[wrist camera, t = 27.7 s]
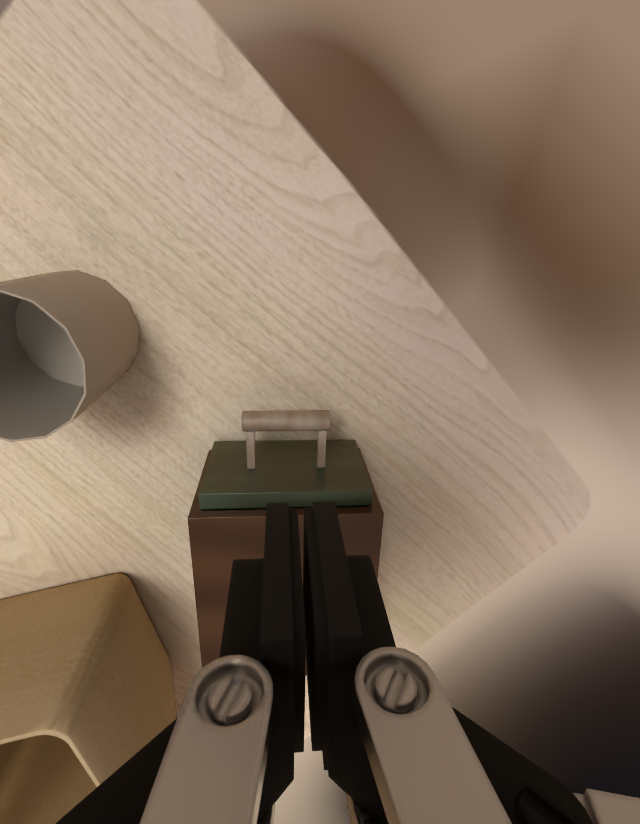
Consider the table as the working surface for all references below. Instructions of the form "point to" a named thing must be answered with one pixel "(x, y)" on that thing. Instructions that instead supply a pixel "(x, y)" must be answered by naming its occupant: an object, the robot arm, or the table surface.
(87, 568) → the table surface
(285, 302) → the table surface
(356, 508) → the cabinet
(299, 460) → the drawer
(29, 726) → the flower pot
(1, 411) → the cup
